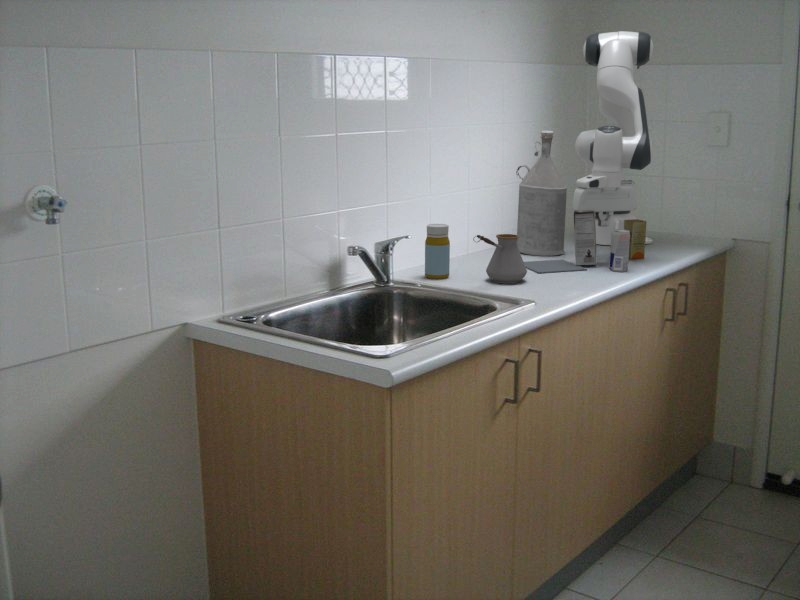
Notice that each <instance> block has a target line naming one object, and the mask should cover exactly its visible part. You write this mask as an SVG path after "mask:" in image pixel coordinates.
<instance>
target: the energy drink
mask: <svg viewBox="0 0 800 600" xmlns="http://www.w3.org/2000/svg"><path fill="white" fill-rule="evenodd" d="M629 243H630V232H629V230H624V229H615V230H612V233H611V245H610V249H609V250H610V255H609V268H608V269H609V270H610V271H611V272H615V273H616V272H617V273H625V272H627V271H629V260H630V259H629Z"/></svg>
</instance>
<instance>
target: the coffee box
mask: <svg viewBox="0 0 800 600" xmlns="http://www.w3.org/2000/svg"><path fill="white" fill-rule="evenodd" d="M573 229H574V230H573V231H574V232H573V233H574V234H573V235H574V253H575V254H574V255H575V258H574V259H575V265H578V266H591V265H597V244H596V226H595V212H594V211H592V212H581V213H579V212H575V211H574V210H573Z"/></svg>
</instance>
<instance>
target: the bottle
mask: <svg viewBox="0 0 800 600" xmlns="http://www.w3.org/2000/svg"><path fill="white" fill-rule="evenodd" d="M449 230H450V229H449V225H448V224H445V223H430V224H429V223H428V224H427V225H426V239H425V242H424V276H425V277H426V278H427V279H430V278H431V280H445V279H447V278H449V276H450V260H451V258H450V255H451V254H450V250H451V249H450V247H451V244H450V238H449ZM444 278H445V279H444Z"/></svg>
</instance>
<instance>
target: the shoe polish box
mask: <svg viewBox="0 0 800 600" xmlns="http://www.w3.org/2000/svg"><path fill="white" fill-rule="evenodd" d="M646 229H647V221H646V220H641V219H638V218H637V219H633V220H624V230H629V232H630V243H629V259H628V260H631V261H633V260H644V259H645V247H646V244H645V236H646V237H647V232H646V231H647V230H646Z"/></svg>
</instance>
